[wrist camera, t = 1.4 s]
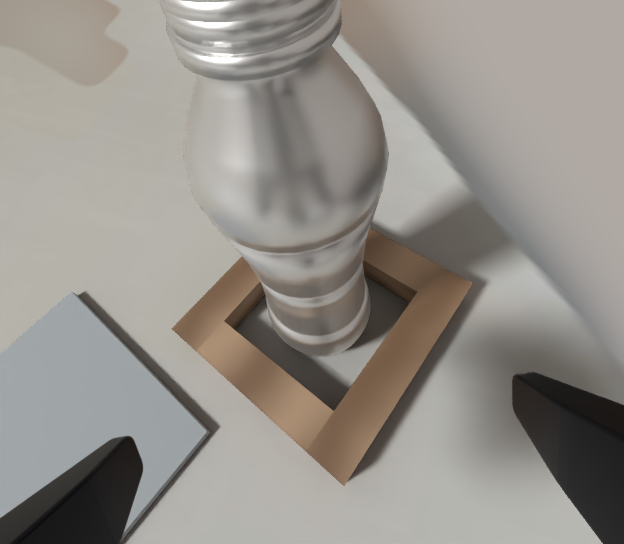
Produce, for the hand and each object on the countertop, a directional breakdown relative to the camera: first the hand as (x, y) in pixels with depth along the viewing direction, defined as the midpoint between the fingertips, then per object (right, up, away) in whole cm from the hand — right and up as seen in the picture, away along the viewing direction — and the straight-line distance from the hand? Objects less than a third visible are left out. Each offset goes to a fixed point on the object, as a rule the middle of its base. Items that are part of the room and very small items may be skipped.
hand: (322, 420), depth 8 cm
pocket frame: (0, 0, +16) cm, 16 cm away
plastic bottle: (+1, 0, +16) cm, 16 cm away
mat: (-18, -8, +13) cm, 24 cm away
